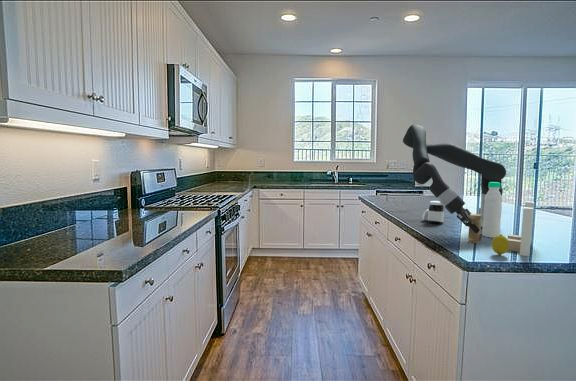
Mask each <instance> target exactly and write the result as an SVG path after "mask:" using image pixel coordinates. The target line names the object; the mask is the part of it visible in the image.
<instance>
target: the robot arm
mask: <svg viewBox="0 0 576 381" xmlns="http://www.w3.org/2000/svg"><path fill="white" fill-rule="evenodd" d="M402 143H403V144H404V145H405V146H407V147H409V148H411V149H412V161H413V168H412V178H413V180H414V181H415V182H416V184H419V185H425V184H426V183H427V182H429V181H430V180H431V179H432V182H431V185H430V186H429V189H428V190H429V191H430V192H431V193H432V195H433V196H434V197H435V198H436V199H437V201H440V203H441V204H442V205H443V206H444V209H446V210H447V212H448V213H449V214H451V215H453V214H454V213H456V214H457V215H456V218H457V219H458V220H459V221H461V223H462V224H464V226H465V227H468V228H469V227H470V228H471V229H472V230H473V231H474V233H478V232H479V231H480V229H479V228H478V227H477V226H476V225H475V224H474V223H473V222H472V220H471V217H470V214H472V212H471V211H470V210H469V209H468V208H467V207H466V208H464V206H465V205H466V202H465V201H464V200H463V199H462V198H461V197H460V196H459V195H458V194H457V193H456V192H455V191H454V190H453V189H452V188H450V186H449V185H448V184H447V183H446V182H445V181H444V180H443V178H442V177H441V174H440V173H439V171H438V168H437V167H436V165H434V164H433V163H431V161H430V158H429V157H430V156H429V155H431V156H433V157H436V158H438V159H440V160H442V161H444V162H447V163H449V164H452V165H454V166H456V167H457V166H458V167H460V168H463V169H467V170H471V171H473V172H475V173H478V174H479V175H480V177H481V178H480V189H481V191H480V192H481V195H480V196H481V197H480V199H481V200H480V207H479V208H478V211H477V212H478V213H477V214H481V215H482V218H481V230H483V220H484V218H483V214H484V203H485V199H484V198H485V195H486V194H487V192H488V191H489V188H488V183H489V182H499V183H500V188H499V192H500V194H501V196H502V197H503V192H504V190H503V187H502V186H503V185H502V180H503V179H505V176H506V175H507V170H506V168H505V166H504V165H503V164H502V163H500V162H496V161H492V160H490V159H487V158H483V157H482V156H479V155H477V154H475V153H472V151H469V150H467V149H465V148H463V147H461V146H459V145H456V144H454V143H447V142H443V143H436V144H435V143H427V131H426V129H425V127H423V126H422V125H419V124H411V125H410V126H408V128H407V130H406V133H405V134H404V136H403V138H402ZM500 222H501V220H500Z"/></svg>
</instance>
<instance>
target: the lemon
mask: <svg viewBox="0 0 576 381" xmlns="http://www.w3.org/2000/svg"><path fill="white" fill-rule="evenodd" d="M508 248H509V242H508V237H506V236H505V235H503V234H501V233H500V235H498V236H496V237H494V238H492V240H491V249H492V250H493V252H494V253H496V254H497V255H498V256H501V255H503V254H506V253H507V252H508V251H509V250H508Z"/></svg>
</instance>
